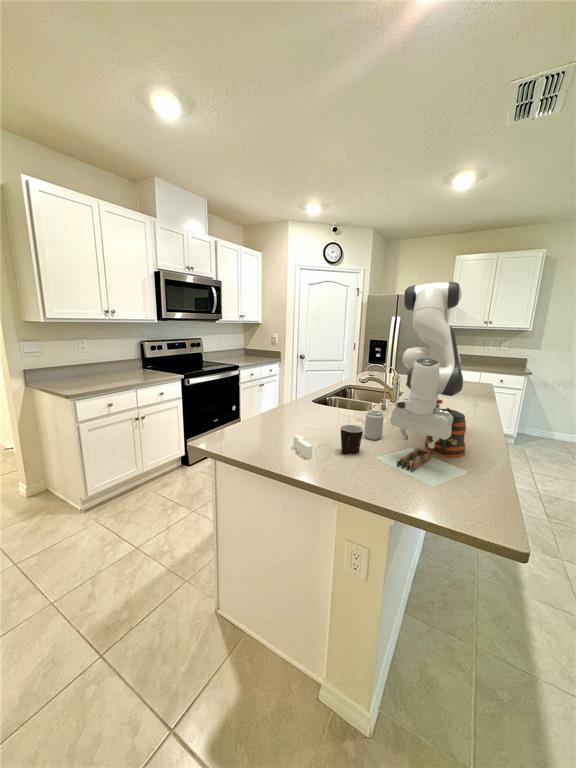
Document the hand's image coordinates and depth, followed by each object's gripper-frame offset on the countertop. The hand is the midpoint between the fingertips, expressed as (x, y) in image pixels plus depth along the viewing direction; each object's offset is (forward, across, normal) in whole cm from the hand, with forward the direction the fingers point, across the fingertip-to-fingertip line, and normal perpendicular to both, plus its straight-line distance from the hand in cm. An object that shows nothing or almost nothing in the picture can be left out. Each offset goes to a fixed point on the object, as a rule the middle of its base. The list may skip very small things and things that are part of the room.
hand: (417, 443), depth 109 cm
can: (+8, +25, -12) cm, 29 cm away
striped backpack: (+8, -3, -19) cm, 21 cm away
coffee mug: (+8, +22, +11) cm, 25 cm away
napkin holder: (+9, +34, +23) cm, 42 cm away
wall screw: (+7, -2, +8) cm, 10 cm away
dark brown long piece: (+7, 0, 0) cm, 7 cm away
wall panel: (+8, -2, 0) cm, 8 cm away
